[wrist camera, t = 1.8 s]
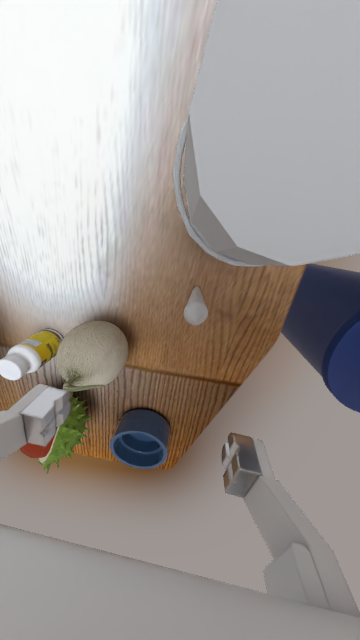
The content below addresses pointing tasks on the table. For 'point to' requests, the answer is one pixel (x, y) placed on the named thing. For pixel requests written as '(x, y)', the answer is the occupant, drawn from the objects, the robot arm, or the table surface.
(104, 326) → the fruit
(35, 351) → the supplement bottle
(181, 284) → the table surface
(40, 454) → the chestnut
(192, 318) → the pen
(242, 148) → the water bottle
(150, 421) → the bowl
